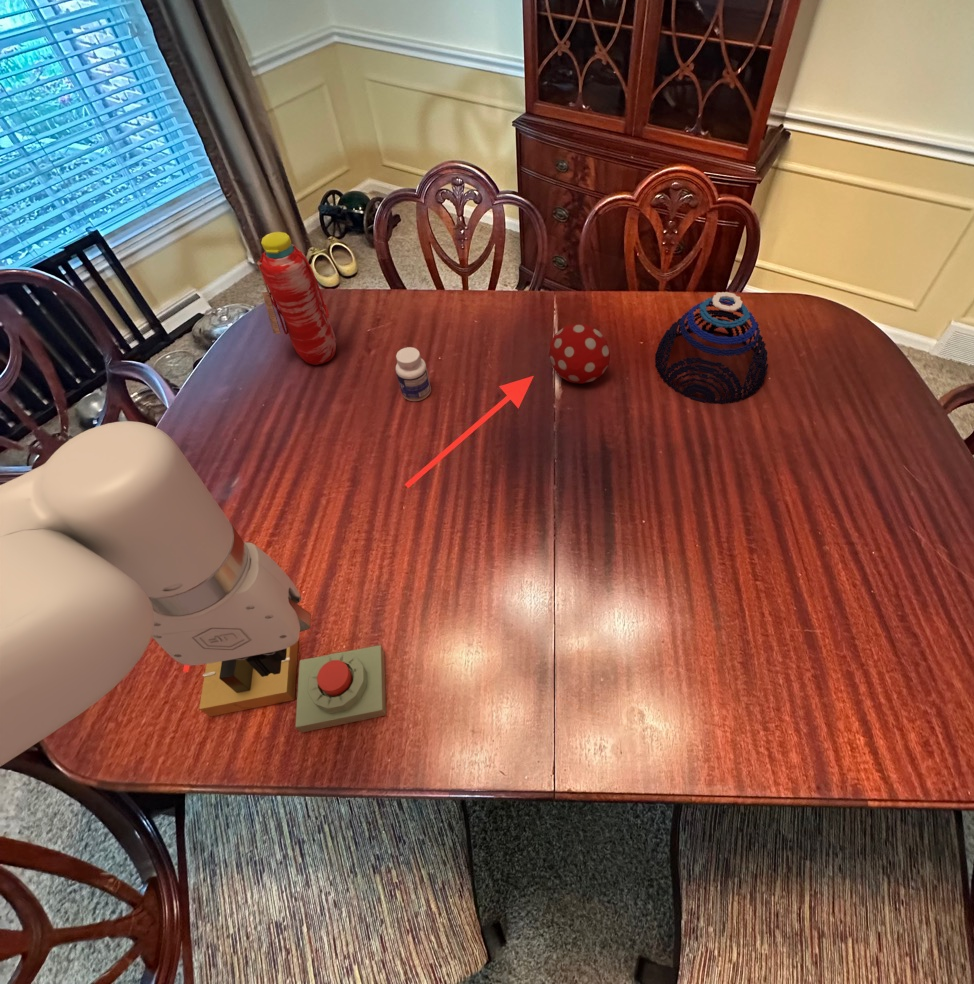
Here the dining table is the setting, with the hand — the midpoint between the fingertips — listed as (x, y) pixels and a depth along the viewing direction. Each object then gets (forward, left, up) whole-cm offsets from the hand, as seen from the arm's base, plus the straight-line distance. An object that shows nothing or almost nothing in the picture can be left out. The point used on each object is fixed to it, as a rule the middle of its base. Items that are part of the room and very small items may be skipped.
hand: (273, 660), depth 58 cm
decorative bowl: (+68, +50, -19) cm, 86 cm away
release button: (+2, +3, -15) cm, 15 cm away
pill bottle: (+14, +54, -19) cm, 59 cm away
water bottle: (-5, +68, -19) cm, 71 cm away
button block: (+2, +3, -19) cm, 19 cm away
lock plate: (-9, +7, -19) cm, 22 cm away
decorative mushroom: (+44, +55, -19) cm, 73 cm away
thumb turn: (-9, +7, -16) cm, 19 cm away
